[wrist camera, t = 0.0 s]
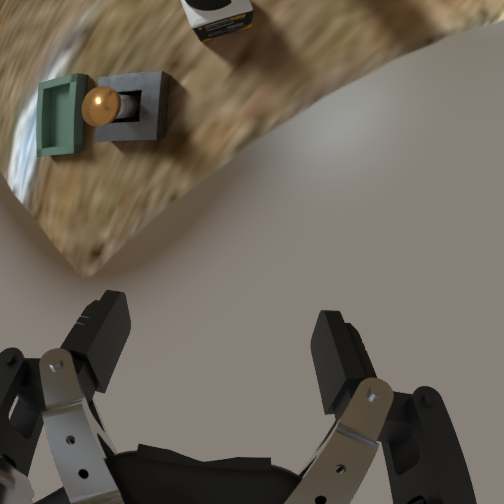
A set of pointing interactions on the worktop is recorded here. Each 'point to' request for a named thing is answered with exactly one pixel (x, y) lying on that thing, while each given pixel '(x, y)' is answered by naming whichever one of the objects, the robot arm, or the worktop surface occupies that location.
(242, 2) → the medicine bottle
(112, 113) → the brass-capped metal pin
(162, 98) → the block
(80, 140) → the tray
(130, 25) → the worktop surface
